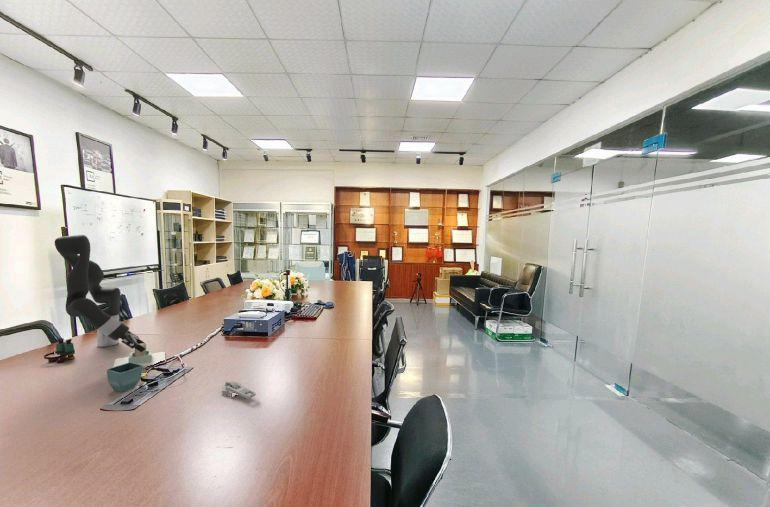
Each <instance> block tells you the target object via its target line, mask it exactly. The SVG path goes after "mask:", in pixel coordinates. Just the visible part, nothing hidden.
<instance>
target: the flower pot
mask: <svg viewBox="0 0 770 507" xmlns="http://www.w3.org/2000/svg"><path fill="white" fill-rule="evenodd" d="M143 370H144V368H143V365H140V364H136V363H132V362H129V363H126V364H123V365H120V366H116V367H113V366H112V367H111V368H107V369H106V376H107V382H108V384H109V385H110V387H111V388H112V389H113V390H114V391H117V392H121V393H123V392H126V391H128V390H130V389H133V388H135V387H136V386H137V385H138V383H139V382H140V380H141V378H142V374H143Z"/></svg>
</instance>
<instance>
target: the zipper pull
mask: <svg viewBox="0 0 770 507" xmlns="http://www.w3.org/2000/svg"><path fill="white" fill-rule="evenodd" d="M224 383H225V384H224V385H222V387H221V396H222V395H229V396H230V397H232V393H236V394H238V396H241V397H243V398H245V399H247V400H249V399H250V398H253V397H255V396H256V395H257V394H256V392H255V391H253V390H252V389H249V388H247V387H246V386H244V385H242V383H241V382H236V381H235V380H228V381H226V382H224ZM229 396H228V397H229ZM230 397H229V398H230Z"/></svg>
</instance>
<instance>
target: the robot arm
mask: <svg viewBox="0 0 770 507" xmlns="http://www.w3.org/2000/svg"><path fill="white" fill-rule="evenodd" d="M54 246H55V249H56V251H57V252H58V253H59V255H60V256H61V257H62V258H63V259H64V260H65V262H67V263H68V264H69V265H70V266H71V267H72V269H71V270H70V271H69V273H68V275H67V277H66V290H67V296H66V300H65V312H66V313H67V315H69V317H73V318H78V317H82V316H84V317H85V318H86V320H87V321H86V322H87V323H88V325H90V326H92V327H93V328H95V329H96V330H97V334H96V337H97V339H96V340H97V341H96V342H97V343H96V345H97V347H100V348H105V347H111V346H116V345H118V344H119V343H120V342H119V341H120V339H121V343H122V344H124V345H125V346H127V347H129V348H130V349H131V350H133V349H134V350H135V349H137V350H138V351H140V352H143V351H144V350H145V348H144V347H143V346H141V345H140V344H143V343H144V344H146V342H144V341H143V340H142V339H140V337H139V335H136V334H135V333H133V332H132V331H130V327H129V326H128V325H126V324H125V323H123V322H121V320H120V310H121V309H120V308H121V306H120V305H121V289H120V288H118V287H102V286H101V285H100V284H101V282H102V281H103V280H104V276H105V273H104V272H103V271H104V270H102V268H101V266H100V265H99V264H98V263H97V262H95V261H93V260H90V258H91V257H90V256H91V243H90V239H89V238H88V236H87V235H85V234H76V235H75V234H74V235H66V236H60V237H57V238H55V240H54ZM88 293H89V294H90V295H91V298H92V299H93V300H92V299H90V298H87V295H88ZM99 304H100V305H101V304H102V305H105V304H109V306H108V307H106V308H103V309H101V308H100V306H98V305H99ZM146 345H147V344H146Z"/></svg>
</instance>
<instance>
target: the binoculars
mask: <svg viewBox="0 0 770 507" xmlns="http://www.w3.org/2000/svg"><path fill="white" fill-rule="evenodd" d="M64 340H65V339H64V338H63V337H62V338H61V337H59V338H57V343H56V344H55V350H52V352H50V353H47V354H44V355H43V359H45V360H48V363H55V362H56V364H60V363H63V362H65V361H67V360H72V359H75V357H76V356H75V353H76V352H75V347H74V342H72V338H69V339H66V340H65V341H64ZM55 355H57V356H55Z"/></svg>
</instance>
